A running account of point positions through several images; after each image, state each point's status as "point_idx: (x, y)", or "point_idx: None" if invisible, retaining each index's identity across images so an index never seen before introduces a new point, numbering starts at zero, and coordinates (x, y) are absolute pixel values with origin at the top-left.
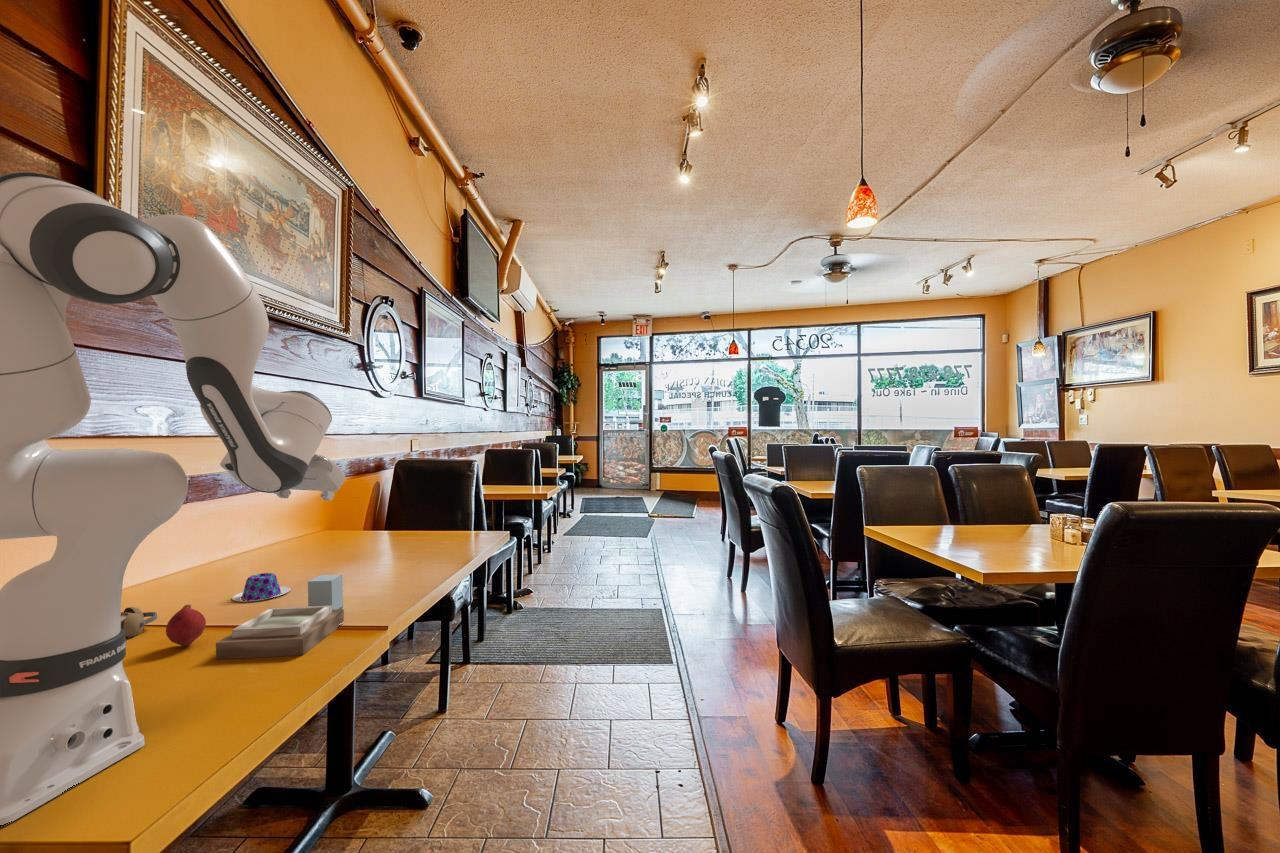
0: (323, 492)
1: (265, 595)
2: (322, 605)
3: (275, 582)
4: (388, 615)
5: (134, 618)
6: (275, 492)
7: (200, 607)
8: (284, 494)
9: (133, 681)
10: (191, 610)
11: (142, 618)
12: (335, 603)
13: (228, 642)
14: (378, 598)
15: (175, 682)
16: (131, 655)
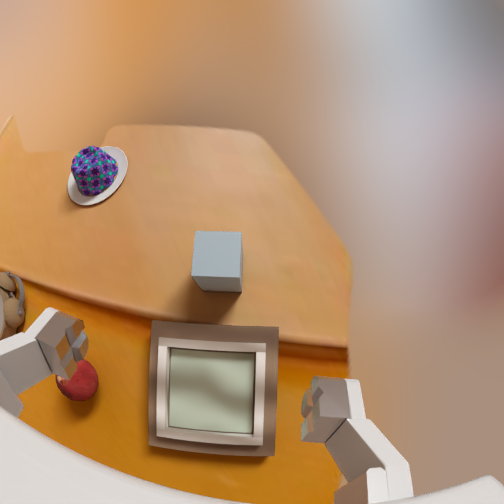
0: (316, 428)
1: (103, 185)
2: (224, 288)
3: (106, 163)
4: (334, 298)
5: (11, 317)
6: (37, 381)
7: (46, 218)
8: (72, 367)
9: None
10: (70, 382)
11: (15, 306)
12: (241, 275)
13: (165, 447)
14: (281, 209)
15: None
16: (52, 388)
